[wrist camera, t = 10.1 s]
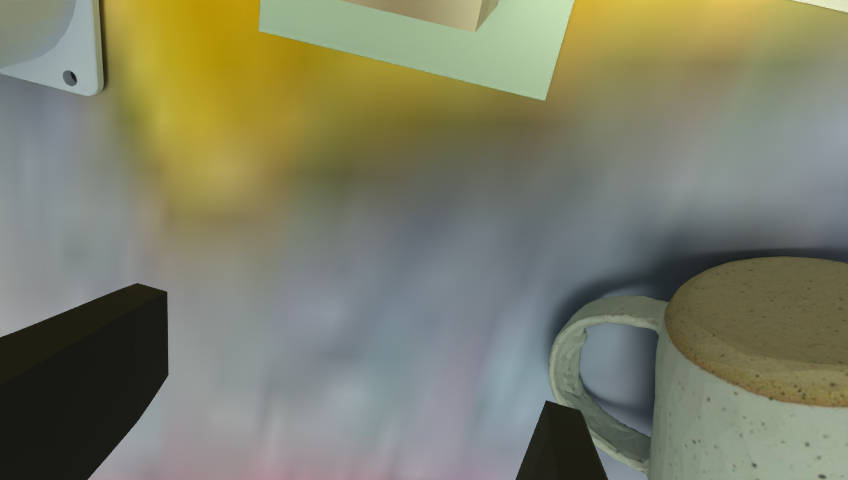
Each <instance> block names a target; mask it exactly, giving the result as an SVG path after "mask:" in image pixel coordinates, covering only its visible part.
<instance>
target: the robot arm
mask: <svg viewBox="0 0 848 480" xmlns="http://www.w3.org/2000/svg"><path fill="white" fill-rule="evenodd" d="M71 72H73V73H74V74H75V76H76V78H77V82H75V81H74V80H73V79H72V76H71ZM0 74H4V75H7V76H11V77H15V78H19V79H23V80H27V81H30V82H34V83H38V84H42V85H46V86H50V87H53V88H57V89H61V90H65V91H69V92H73V93H76V94H80V95H84V96H92V95H95V94H97V93H100V92H101V91H102V89H103V85H104V79H103V63H102V47H101V31H100V14H99V0H0ZM167 376H168V312H167V292H166V291H163V290H159V289H156V288H152V287H149V286H145V285H142V284H138V283H136V284H133V285H131V286H128V287H125V288H122V289H120V290H117V291H115V292H112V293H110V294H107V295H105V296H102V297H100V298H97V299H95V300H92V301H90V302H88V303H85V304H83V305H80V306H78V307H75V308H73V309H71V310H68V311H66V312H63V313H61V314H58V315H56V316H53V317H51V318H49V319H46V320H44V321H41V322H39V323H36V324H34V325H31V326H29V327H26V328H24V329H21V330H19V331H16V332H14V333H11V334H8V335H5V336H3V337H0V480H88V478H89V477H90V476H91V475H92V474H93V473H94V472H95V470H96V469H97V468H98V467H99V466H100V465H101V464H102V462H103V461H104V460H105V459H106V458H107V457H108V456H109V454H110V453H111V452H112V451H113V450H114V449H115V447H116V446H117V445H118V444H119V443H120V442H121V440H122V439H123V438H124V437H125V436H126V435H127V433H128V432H129V431H130V430H131V429H132V427H133V426H134V425H135V424H136V423H137V421H138V420H139V419H140V417H141V416H142V414H143V413H144V411H145V410H146V409H147V407H148V406H149V404H150V403H151V401H152V400H153V398H154V397H155V395H156V394H157V392H158V390H159V389H160V387H161V386H162V384H163V383H164V381H165V380H166V378H167ZM516 480H608V478H607V475H606V473H605V470H604V468H603V466H602V463H601V461H600V458H599V456H598V453H597V450H596V448H595V445H594V443H593V440H592V437H591V435H590V432H589V429H588V426H587V424H586V421H585V418H584V416H583V414H582V412H581V411H580V410H578V409H574V408H571V407H567V406H564V405H560V404H557V403H553V402H550V401H546V402H545V404H544V407H543V410H542V412H541V415H540V417H539V420H538V423H537V425H536V428H535V430H534V433H533V436H532V438H531V441H530V443H529V446H528V449H527V451H526V454H525V456H524V459H523V462H522V464H521V467H520V469H519V472H518V475H517V477H516Z"/></svg>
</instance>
